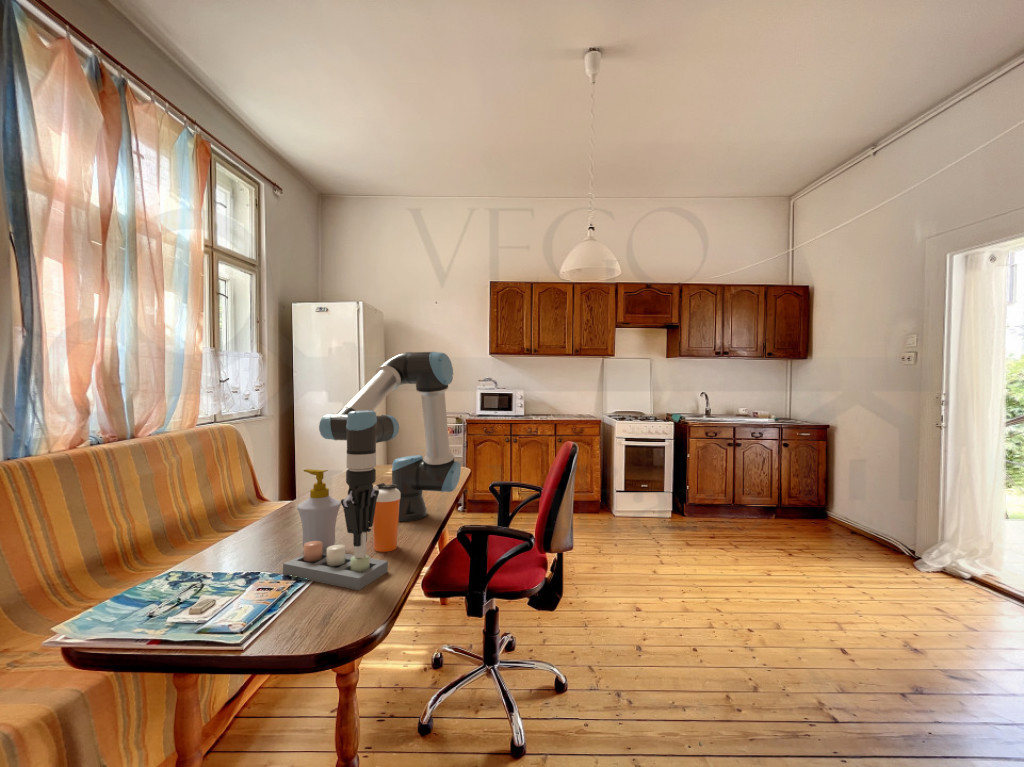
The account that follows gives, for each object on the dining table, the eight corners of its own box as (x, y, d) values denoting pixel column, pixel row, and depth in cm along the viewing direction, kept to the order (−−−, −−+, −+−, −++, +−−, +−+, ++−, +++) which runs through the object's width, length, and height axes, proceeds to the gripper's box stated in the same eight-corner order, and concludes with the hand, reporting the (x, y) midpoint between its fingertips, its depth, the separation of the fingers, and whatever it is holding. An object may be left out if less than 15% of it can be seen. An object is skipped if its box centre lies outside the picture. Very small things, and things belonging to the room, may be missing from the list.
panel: (316, 558, 135) (316, 548, 135) (387, 571, 126) (387, 561, 126) (283, 574, 123) (283, 563, 123) (359, 590, 115) (359, 578, 115)
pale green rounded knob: (358, 567, 125) (358, 553, 125) (373, 570, 123) (373, 555, 123) (346, 574, 120) (346, 559, 120) (361, 577, 119) (361, 562, 119)
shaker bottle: (392, 554, 139) (392, 488, 139) (365, 551, 141) (366, 487, 140) (404, 544, 147) (405, 482, 147) (379, 542, 149) (380, 480, 149)
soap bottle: (313, 539, 151) (314, 465, 150) (348, 543, 148) (349, 467, 148) (287, 553, 138) (288, 472, 138) (324, 557, 136) (325, 474, 135)
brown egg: (312, 553, 130) (312, 540, 130) (326, 556, 129) (326, 542, 129) (299, 560, 126) (299, 545, 126) (313, 562, 124) (313, 547, 124)
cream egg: (335, 557, 128) (335, 543, 128) (349, 560, 126) (349, 546, 126) (322, 564, 123) (322, 549, 123) (336, 566, 122) (337, 552, 122)
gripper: (365, 463, 129) (364, 546, 129) (332, 471, 117) (331, 563, 117) (387, 465, 127) (386, 550, 127) (356, 474, 114) (355, 568, 114)
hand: (360, 556), depth 122 cm, fingers closed
